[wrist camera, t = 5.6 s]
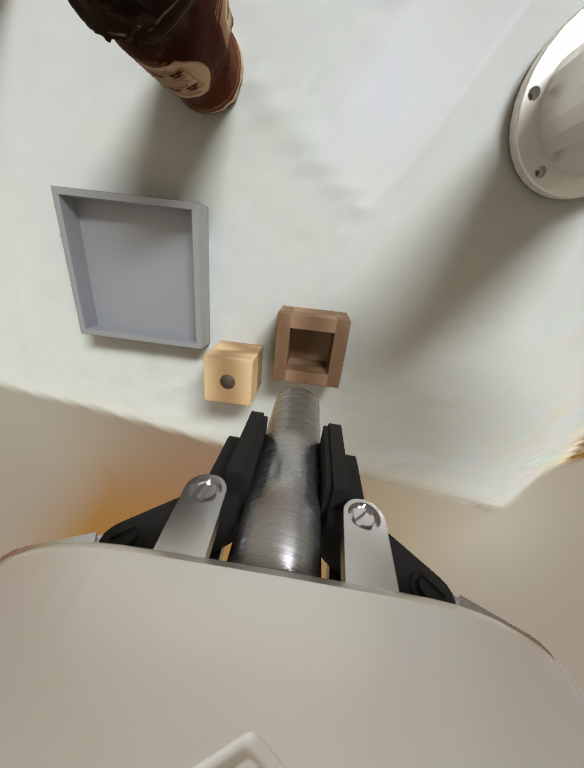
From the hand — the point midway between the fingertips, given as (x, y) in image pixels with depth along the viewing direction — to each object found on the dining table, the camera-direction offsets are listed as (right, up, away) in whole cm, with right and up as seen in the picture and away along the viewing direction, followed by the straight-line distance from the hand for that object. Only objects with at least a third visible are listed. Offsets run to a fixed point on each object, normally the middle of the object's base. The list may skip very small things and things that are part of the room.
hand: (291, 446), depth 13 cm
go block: (+2, +8, +20) cm, 21 cm away
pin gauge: (0, +1, +3) cm, 4 cm away
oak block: (-6, +5, +21) cm, 23 cm away
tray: (-16, +15, +18) cm, 29 cm away
